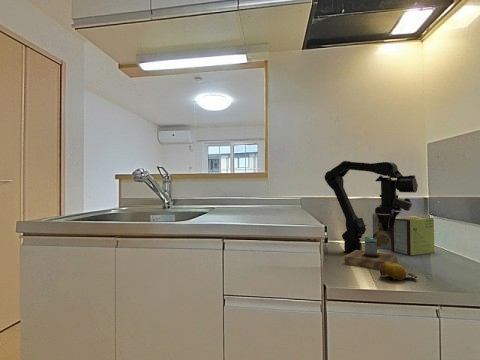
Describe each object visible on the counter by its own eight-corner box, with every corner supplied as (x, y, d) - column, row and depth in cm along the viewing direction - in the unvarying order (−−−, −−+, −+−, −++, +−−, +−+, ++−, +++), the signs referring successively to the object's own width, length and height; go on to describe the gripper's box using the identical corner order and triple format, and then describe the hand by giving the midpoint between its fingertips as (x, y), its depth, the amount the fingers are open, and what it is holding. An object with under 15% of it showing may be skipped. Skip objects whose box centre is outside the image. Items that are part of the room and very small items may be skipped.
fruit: (421, 278, 100) (421, 263, 101) (401, 283, 95) (401, 268, 95) (389, 270, 110) (389, 256, 110) (370, 275, 104) (370, 260, 104)
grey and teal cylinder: (363, 263, 121) (363, 238, 121) (366, 261, 124) (366, 236, 124) (375, 265, 118) (375, 239, 118) (378, 263, 122) (378, 237, 122)
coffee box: (393, 246, 151) (392, 213, 151) (393, 249, 145) (393, 215, 145) (373, 245, 155) (372, 213, 155) (372, 247, 149) (372, 214, 149)
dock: (344, 263, 121) (344, 256, 121) (356, 256, 132) (356, 249, 132) (388, 270, 111) (388, 262, 111) (397, 262, 122) (397, 255, 122)
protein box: (435, 252, 139) (434, 217, 139) (410, 255, 133) (410, 219, 133) (413, 248, 148) (413, 215, 148) (390, 251, 142) (389, 217, 142)
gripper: (405, 193, 116) (406, 234, 116) (414, 191, 130) (415, 228, 130) (374, 192, 123) (374, 232, 123) (386, 191, 137) (386, 226, 137)
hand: (389, 229), depth 128 cm, fingers open, 9 cm apart
